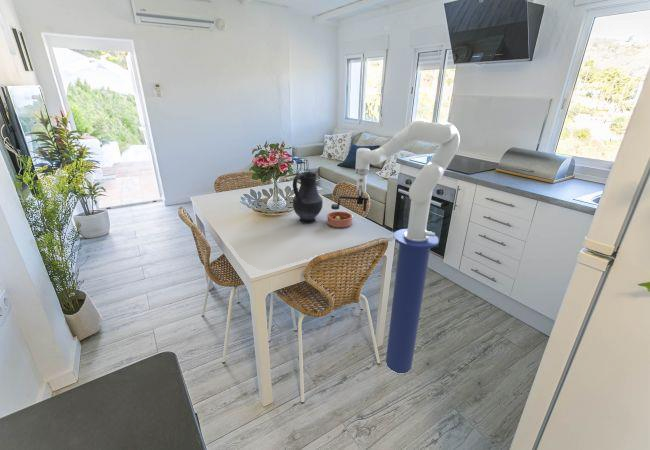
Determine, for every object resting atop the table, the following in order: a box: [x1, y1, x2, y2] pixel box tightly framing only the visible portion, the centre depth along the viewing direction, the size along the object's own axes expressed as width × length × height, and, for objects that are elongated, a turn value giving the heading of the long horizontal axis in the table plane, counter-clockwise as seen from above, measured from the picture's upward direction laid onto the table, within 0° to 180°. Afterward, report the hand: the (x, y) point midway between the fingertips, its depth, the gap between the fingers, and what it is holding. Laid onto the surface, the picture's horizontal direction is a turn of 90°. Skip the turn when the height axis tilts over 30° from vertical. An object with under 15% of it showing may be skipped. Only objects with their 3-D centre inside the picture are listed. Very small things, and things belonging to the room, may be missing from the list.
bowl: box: [326, 211, 353, 229], centre depth 184 cm, size 15×15×5 cm
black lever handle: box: [330, 195, 369, 212], centre depth 179 cm, size 21×5×8 cm, turn 80°
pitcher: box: [292, 171, 324, 224], centre depth 182 cm, size 17×21×30 cm
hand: (359, 203), depth 178 cm, fingers closed on black lever handle, 1 cm apart
